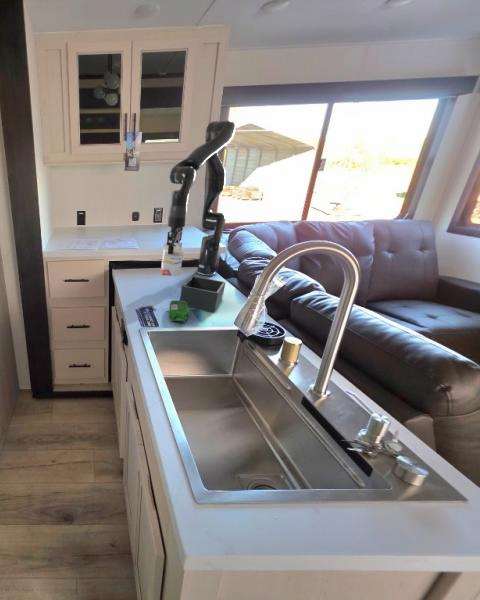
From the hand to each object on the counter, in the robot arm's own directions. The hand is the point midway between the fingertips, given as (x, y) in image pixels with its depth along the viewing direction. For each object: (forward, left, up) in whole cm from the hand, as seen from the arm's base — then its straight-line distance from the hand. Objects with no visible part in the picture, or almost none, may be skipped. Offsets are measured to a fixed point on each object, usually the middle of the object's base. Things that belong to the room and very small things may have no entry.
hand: (172, 252), depth 145 cm
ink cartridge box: (0, 0, -11) cm, 11 cm away
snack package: (+26, +13, -19) cm, 35 cm away
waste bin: (+6, +17, -19) cm, 26 cm away
